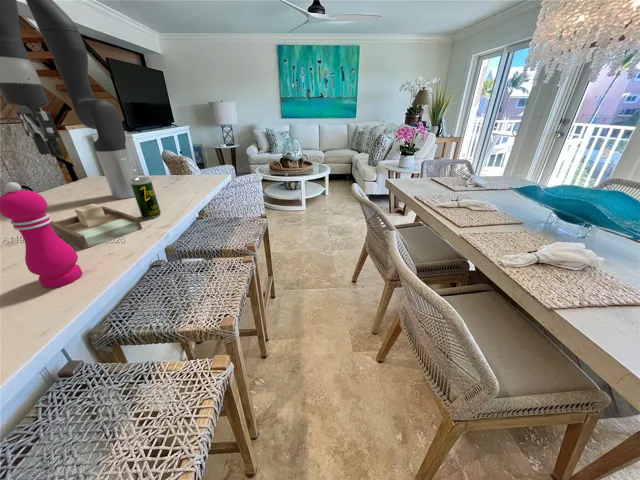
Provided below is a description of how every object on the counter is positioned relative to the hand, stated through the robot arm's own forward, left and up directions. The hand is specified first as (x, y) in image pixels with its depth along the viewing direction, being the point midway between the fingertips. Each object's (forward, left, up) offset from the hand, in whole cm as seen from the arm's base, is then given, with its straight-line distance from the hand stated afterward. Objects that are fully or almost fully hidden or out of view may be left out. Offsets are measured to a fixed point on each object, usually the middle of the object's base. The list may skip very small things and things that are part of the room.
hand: (51, 155), depth 69 cm
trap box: (0, +8, -20) cm, 22 cm away
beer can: (-14, +11, -20) cm, 27 cm away
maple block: (0, +9, -18) cm, 20 cm away
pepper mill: (+15, +29, -20) cm, 38 cm away
